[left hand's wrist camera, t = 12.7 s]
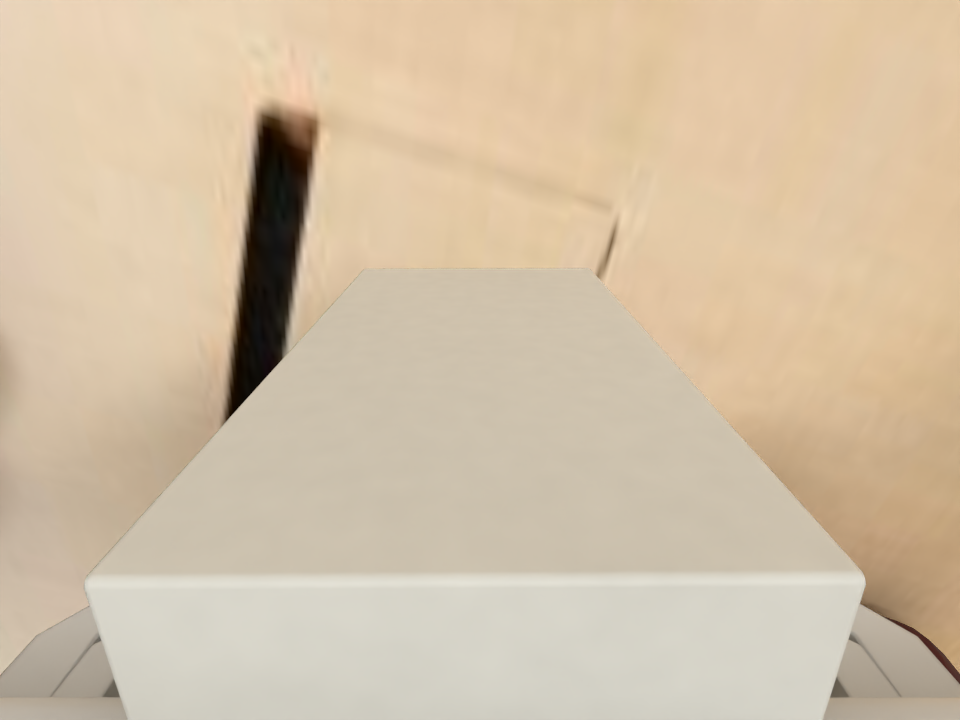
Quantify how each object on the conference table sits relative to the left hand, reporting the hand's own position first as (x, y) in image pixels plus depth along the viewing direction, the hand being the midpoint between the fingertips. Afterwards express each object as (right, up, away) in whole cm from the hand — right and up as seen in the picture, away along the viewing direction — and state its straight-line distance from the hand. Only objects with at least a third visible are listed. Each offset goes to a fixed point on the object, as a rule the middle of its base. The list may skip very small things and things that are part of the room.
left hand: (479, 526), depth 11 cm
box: (0, -7, +9) cm, 12 cm away
